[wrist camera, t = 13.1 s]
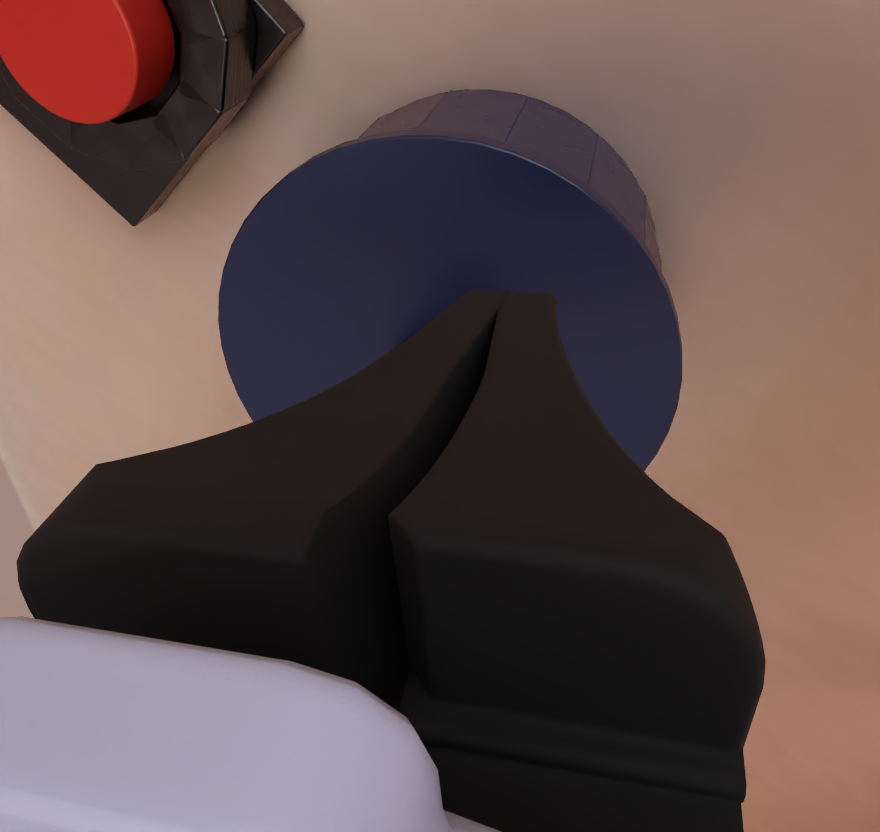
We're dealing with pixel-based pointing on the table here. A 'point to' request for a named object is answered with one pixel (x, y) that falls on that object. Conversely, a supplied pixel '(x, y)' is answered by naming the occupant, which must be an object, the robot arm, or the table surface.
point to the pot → (533, 142)
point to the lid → (443, 273)
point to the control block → (167, 103)
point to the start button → (88, 54)
